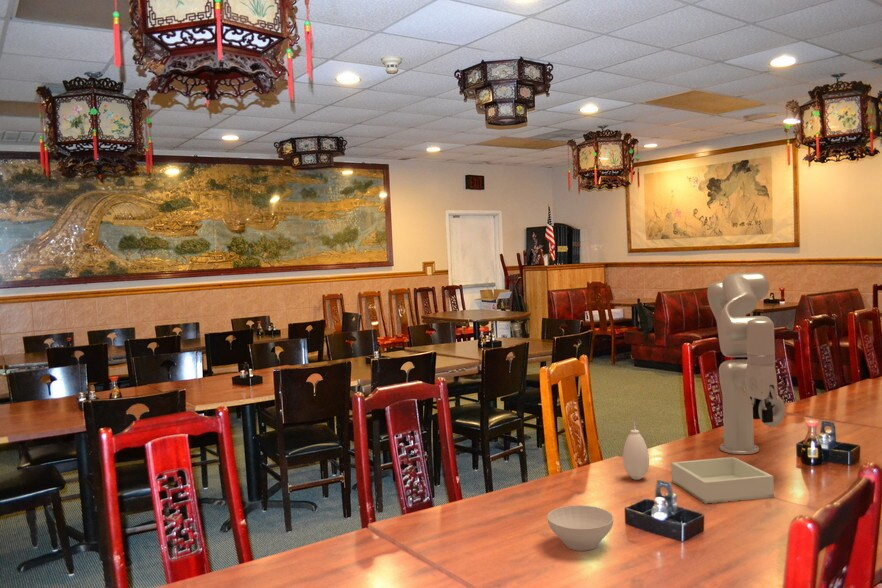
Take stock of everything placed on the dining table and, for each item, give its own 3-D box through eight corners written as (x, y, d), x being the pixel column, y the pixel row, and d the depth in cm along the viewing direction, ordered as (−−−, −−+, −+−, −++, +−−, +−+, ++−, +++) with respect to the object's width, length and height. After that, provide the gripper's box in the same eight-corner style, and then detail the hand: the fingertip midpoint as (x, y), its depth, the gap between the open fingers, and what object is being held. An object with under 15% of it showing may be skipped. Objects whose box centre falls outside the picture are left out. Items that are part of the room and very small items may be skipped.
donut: (778, 423, 216) (776, 390, 216) (788, 424, 213) (786, 391, 213) (757, 428, 212) (754, 395, 211) (767, 430, 209) (764, 397, 208)
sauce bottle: (650, 483, 214) (648, 424, 214) (624, 482, 216) (622, 424, 215) (648, 475, 222) (646, 419, 221) (623, 475, 224) (620, 419, 223)
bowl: (568, 527, 182) (567, 501, 182) (626, 540, 172) (624, 512, 172) (535, 549, 170) (534, 520, 170) (595, 564, 160) (594, 534, 160)
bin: (671, 481, 214) (671, 462, 214) (734, 475, 217) (733, 456, 217) (705, 504, 194) (704, 482, 194) (774, 497, 197) (773, 476, 196)
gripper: (734, 357, 218) (736, 415, 219) (765, 365, 201) (767, 428, 202) (756, 355, 219) (758, 413, 220) (790, 363, 202) (791, 426, 203)
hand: (762, 419), depth 211 cm, fingers closed on donut, 4 cm apart
